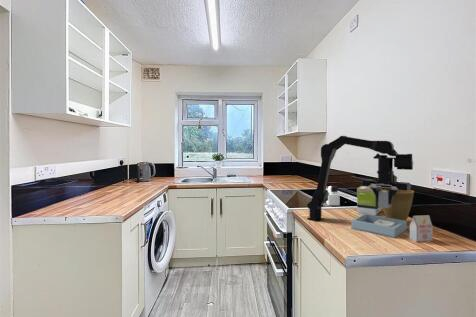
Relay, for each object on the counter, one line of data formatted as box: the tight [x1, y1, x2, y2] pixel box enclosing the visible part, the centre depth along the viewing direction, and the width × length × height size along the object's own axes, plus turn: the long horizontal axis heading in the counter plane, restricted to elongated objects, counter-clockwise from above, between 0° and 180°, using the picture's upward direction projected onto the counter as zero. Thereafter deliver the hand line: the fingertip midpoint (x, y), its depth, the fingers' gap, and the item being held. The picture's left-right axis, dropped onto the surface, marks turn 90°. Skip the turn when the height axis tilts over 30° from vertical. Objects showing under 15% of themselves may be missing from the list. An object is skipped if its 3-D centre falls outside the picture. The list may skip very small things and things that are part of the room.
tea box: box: [356, 185, 383, 216], centre depth 153 cm, size 15×10×15 cm, turn 141°
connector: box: [378, 190, 391, 209], centre depth 119 cm, size 4×4×7 cm
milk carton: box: [409, 214, 434, 243], centre depth 107 cm, size 4×7×10 cm, turn 96°
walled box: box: [351, 214, 408, 239], centre depth 122 cm, size 16×18×4 cm
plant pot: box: [380, 188, 415, 221], centre depth 132 cm, size 15×15×16 cm
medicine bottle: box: [325, 185, 341, 206], centre depth 175 cm, size 7×7×12 cm
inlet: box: [374, 220, 396, 227], centre depth 120 cm, size 7×7×3 cm
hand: (384, 203), depth 119 cm, fingers closed on connector, 4 cm apart
